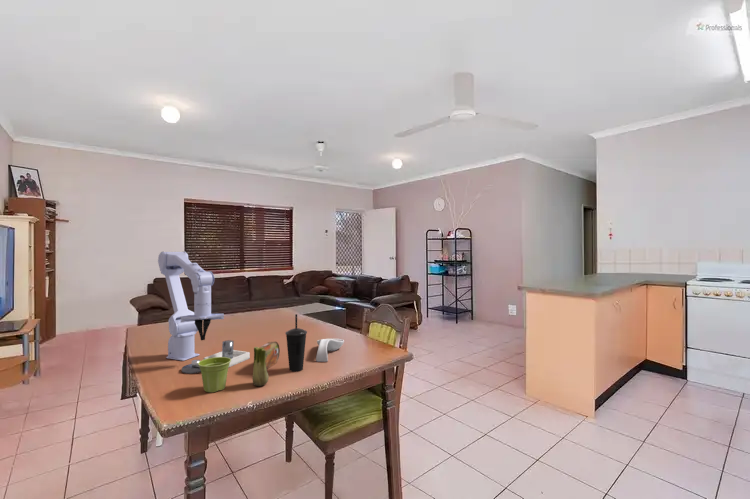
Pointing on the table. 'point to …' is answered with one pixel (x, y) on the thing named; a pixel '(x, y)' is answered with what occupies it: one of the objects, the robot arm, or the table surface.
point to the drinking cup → (296, 347)
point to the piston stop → (227, 349)
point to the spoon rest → (327, 348)
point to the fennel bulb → (259, 367)
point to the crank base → (190, 369)
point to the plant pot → (214, 373)
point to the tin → (271, 353)
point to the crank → (196, 363)
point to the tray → (234, 357)
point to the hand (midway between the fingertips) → (202, 339)
